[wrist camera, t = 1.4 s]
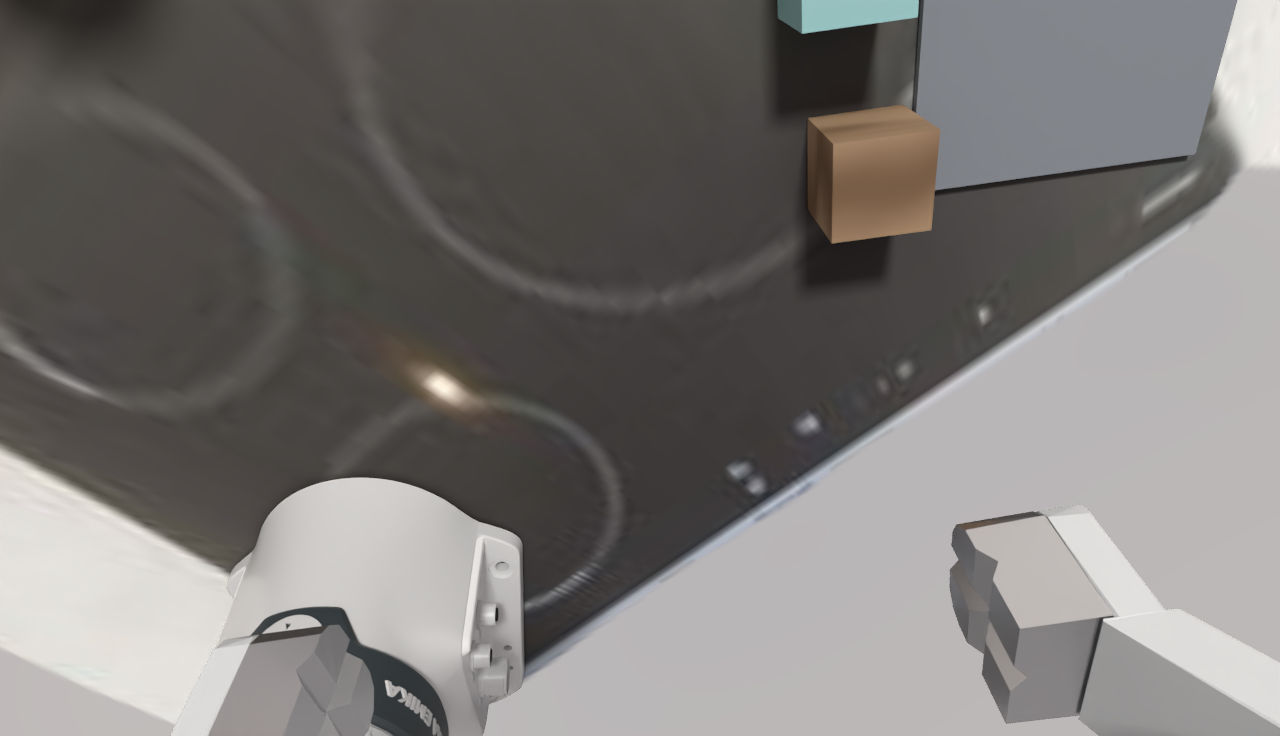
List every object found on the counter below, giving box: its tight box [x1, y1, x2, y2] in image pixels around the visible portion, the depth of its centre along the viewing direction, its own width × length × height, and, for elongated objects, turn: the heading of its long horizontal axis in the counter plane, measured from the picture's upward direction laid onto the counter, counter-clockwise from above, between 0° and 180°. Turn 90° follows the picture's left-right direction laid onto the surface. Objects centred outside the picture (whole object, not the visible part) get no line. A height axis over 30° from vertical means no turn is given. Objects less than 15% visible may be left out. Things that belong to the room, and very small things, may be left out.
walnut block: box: [807, 105, 940, 243], centre depth 35 cm, size 4×4×4 cm
